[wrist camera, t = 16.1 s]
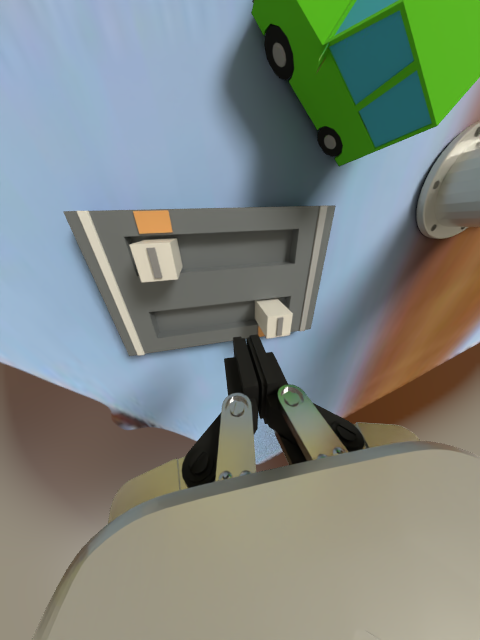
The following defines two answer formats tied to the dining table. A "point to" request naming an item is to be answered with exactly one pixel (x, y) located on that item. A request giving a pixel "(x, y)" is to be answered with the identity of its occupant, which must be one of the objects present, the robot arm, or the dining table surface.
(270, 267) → the switch board
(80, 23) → the dining table surface
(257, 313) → the tab
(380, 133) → the toy car
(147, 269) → the tab
